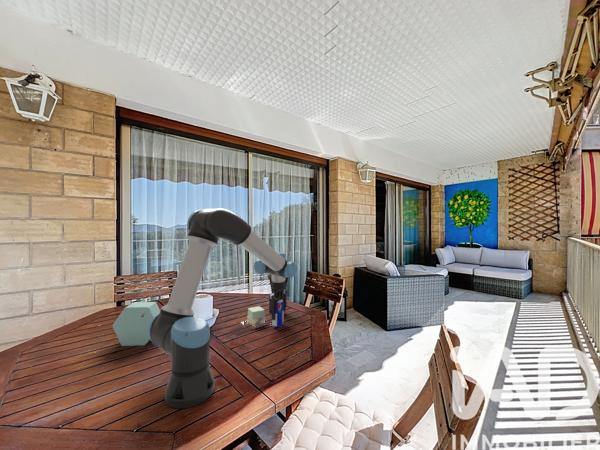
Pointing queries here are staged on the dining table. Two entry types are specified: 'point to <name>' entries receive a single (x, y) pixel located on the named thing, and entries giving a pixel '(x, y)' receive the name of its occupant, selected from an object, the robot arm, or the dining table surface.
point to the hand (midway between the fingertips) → (277, 323)
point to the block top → (256, 312)
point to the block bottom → (255, 321)
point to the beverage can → (279, 313)
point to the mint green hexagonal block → (135, 323)
